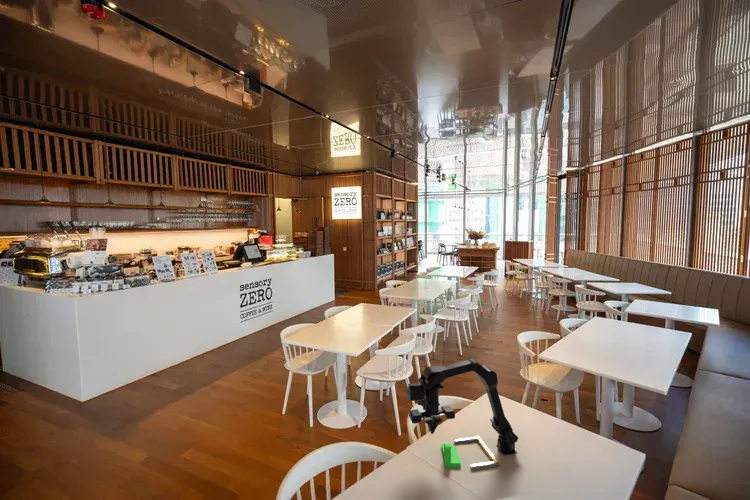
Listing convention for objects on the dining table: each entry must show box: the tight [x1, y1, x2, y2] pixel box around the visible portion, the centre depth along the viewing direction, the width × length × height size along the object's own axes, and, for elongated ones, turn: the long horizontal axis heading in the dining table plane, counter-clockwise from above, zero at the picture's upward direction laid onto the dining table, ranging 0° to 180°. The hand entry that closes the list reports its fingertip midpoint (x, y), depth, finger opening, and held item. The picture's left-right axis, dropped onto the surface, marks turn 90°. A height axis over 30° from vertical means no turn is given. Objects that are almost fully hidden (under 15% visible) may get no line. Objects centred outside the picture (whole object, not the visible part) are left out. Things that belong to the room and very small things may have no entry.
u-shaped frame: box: [453, 435, 500, 471], centre depth 144 cm, size 12×17×2 cm
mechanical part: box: [441, 443, 462, 468], centre depth 142 cm, size 12×6×8 cm, turn 178°
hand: (431, 433), depth 140 cm, fingers closed
